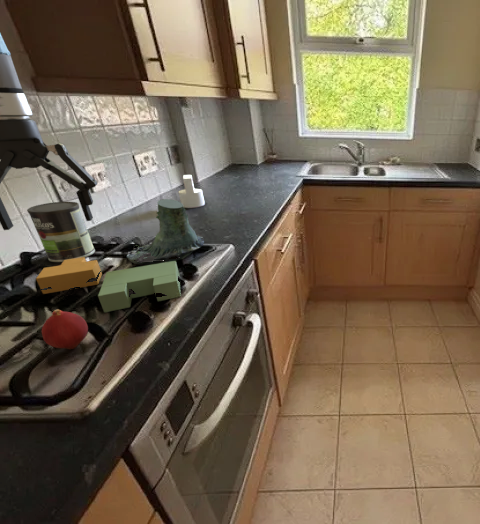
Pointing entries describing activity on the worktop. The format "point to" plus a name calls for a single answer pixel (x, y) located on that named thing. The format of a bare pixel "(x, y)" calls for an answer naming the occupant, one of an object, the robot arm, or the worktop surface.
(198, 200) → the base with upright slab
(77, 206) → the coffee can
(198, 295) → the worktop surface
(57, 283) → the ochre pad
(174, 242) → the tree stump
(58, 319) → the onion
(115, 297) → the green notched block
